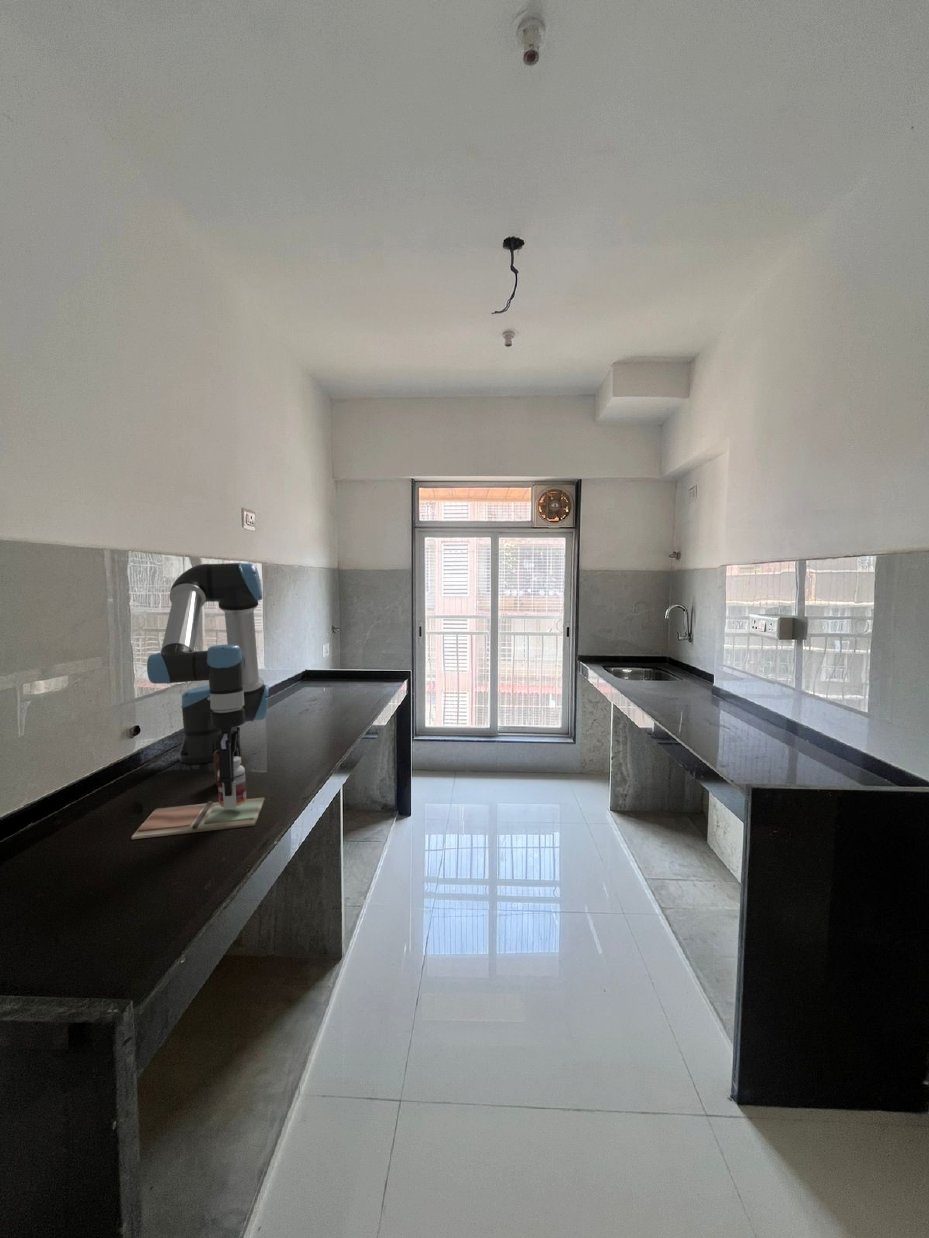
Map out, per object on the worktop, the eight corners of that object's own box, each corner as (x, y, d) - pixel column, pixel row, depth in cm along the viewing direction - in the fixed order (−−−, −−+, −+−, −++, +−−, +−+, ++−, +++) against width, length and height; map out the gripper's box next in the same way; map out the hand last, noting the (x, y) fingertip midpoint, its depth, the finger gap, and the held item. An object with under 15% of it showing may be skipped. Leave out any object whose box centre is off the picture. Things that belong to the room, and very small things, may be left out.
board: (155, 811, 140) (155, 805, 140) (264, 799, 145) (264, 794, 145) (131, 839, 124) (131, 833, 124) (254, 825, 129) (254, 819, 129)
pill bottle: (214, 804, 135) (211, 760, 135) (238, 796, 140) (236, 753, 139) (226, 810, 131) (224, 764, 131) (251, 802, 136) (248, 757, 135)
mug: (233, 793, 150) (231, 758, 150) (204, 794, 150) (202, 760, 149) (247, 777, 162) (246, 746, 162) (221, 779, 162) (219, 747, 161)
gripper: (219, 702, 143) (225, 789, 144) (200, 719, 124) (206, 820, 125) (250, 699, 144) (255, 786, 146) (236, 716, 126) (242, 816, 127)
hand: (233, 802), depth 136 cm, fingers closed on pill bottle, 6 cm apart
